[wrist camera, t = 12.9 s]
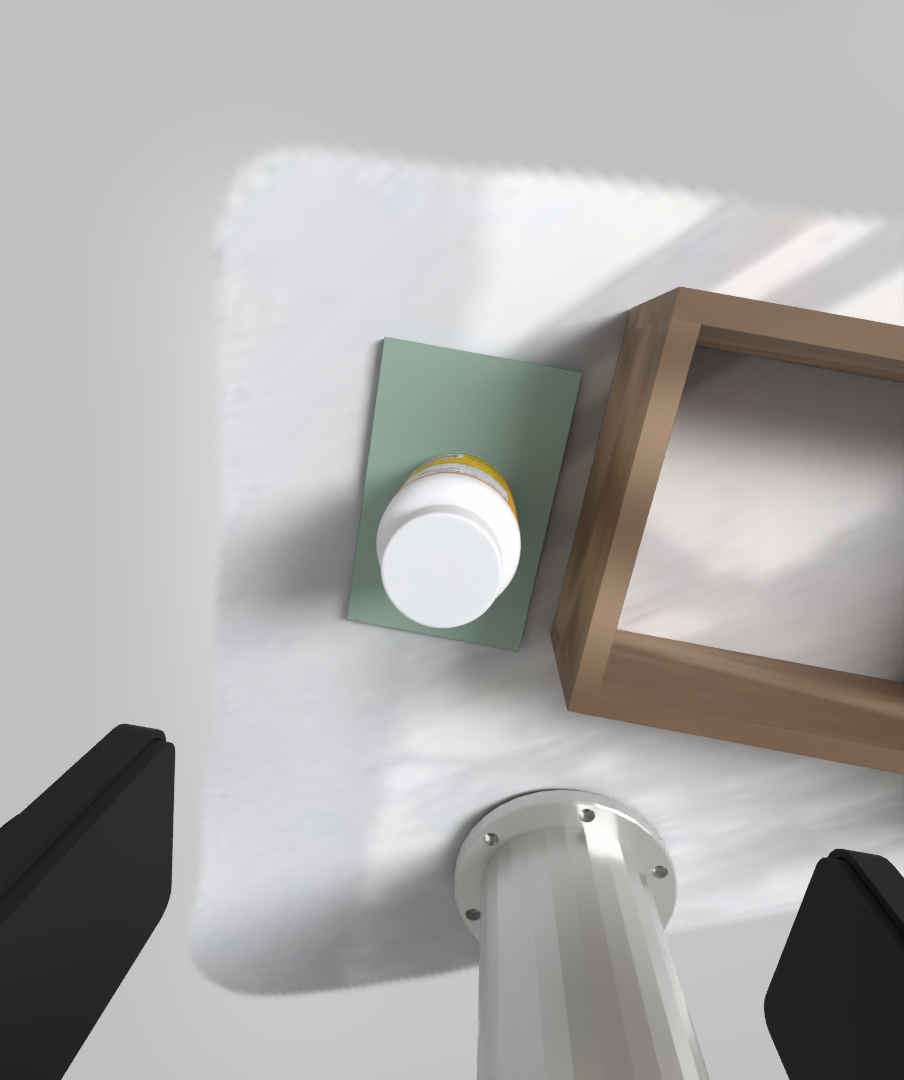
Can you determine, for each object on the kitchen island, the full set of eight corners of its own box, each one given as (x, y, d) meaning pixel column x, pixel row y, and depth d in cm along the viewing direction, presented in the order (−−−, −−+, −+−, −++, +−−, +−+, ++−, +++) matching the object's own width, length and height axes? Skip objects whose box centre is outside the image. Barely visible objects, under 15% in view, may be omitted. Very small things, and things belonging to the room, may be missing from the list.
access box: (973, 714, 30) (1113, 813, 23) (550, 635, 30) (567, 710, 23) (1129, 398, 25) (1359, 408, 19) (630, 308, 26) (679, 286, 19)
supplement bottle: (478, 578, 29) (471, 676, 20) (383, 525, 29) (330, 600, 19) (535, 486, 28) (557, 544, 18) (436, 429, 27) (407, 459, 18)
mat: (518, 647, 31) (518, 651, 30) (349, 615, 31) (346, 619, 30) (580, 372, 27) (582, 372, 26) (386, 337, 27) (384, 336, 26)
